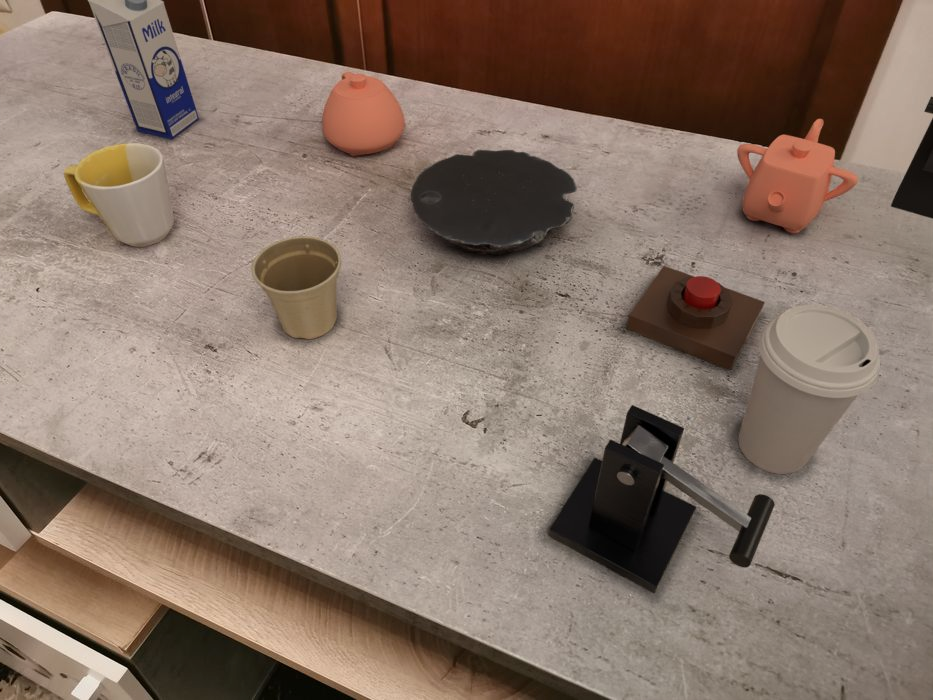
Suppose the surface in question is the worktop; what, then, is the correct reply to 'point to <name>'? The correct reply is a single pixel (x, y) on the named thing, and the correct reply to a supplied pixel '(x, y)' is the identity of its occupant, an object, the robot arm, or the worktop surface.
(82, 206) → the mug
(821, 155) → the teapot
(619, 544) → the lever bracket
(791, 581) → the worktop surface
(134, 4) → the milk carton
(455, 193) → the board
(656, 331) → the button block
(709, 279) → the button
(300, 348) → the worktop surface
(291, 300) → the flower pot
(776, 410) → the coffee cup
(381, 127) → the sugar bowl
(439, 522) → the worktop surface
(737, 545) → the press lever
